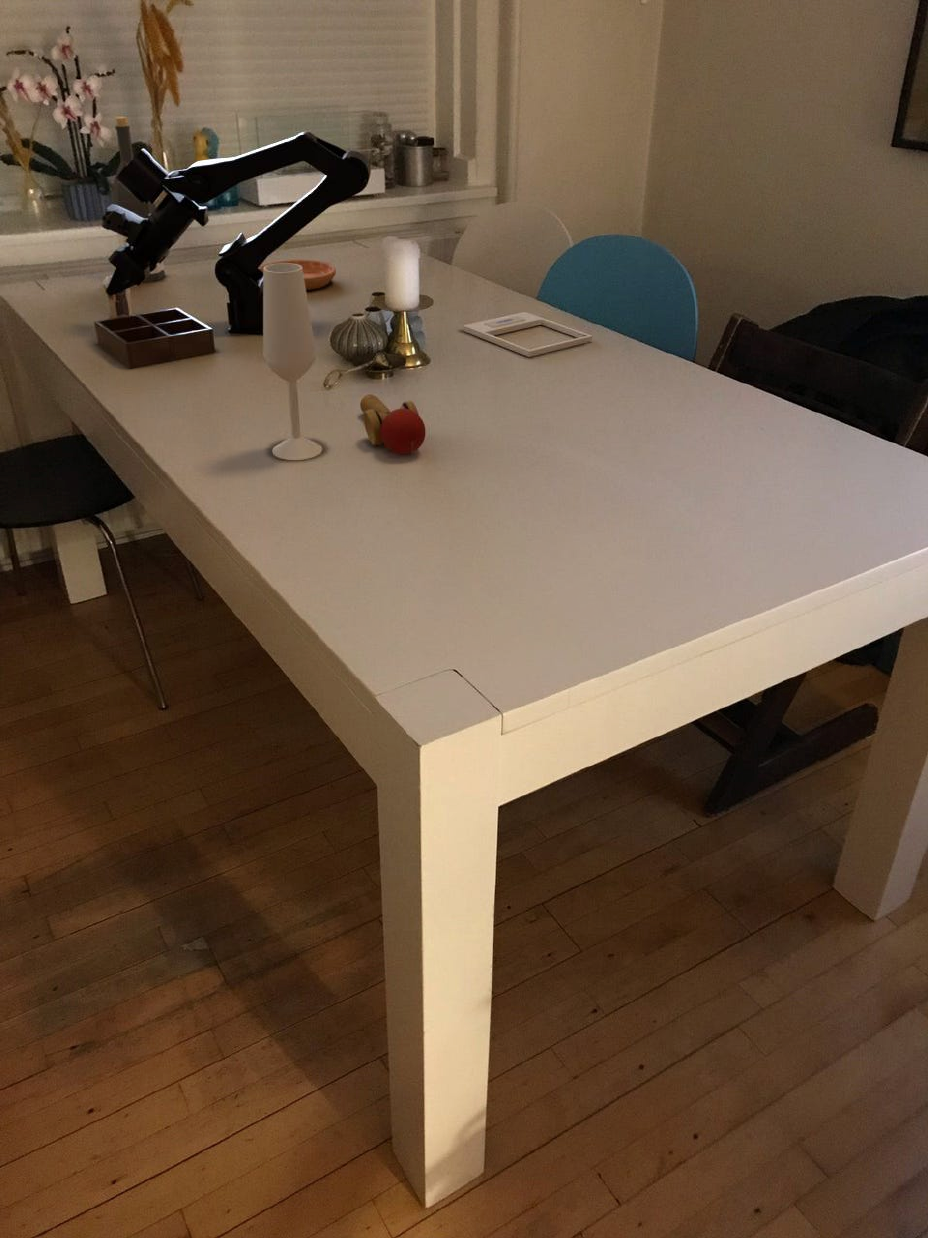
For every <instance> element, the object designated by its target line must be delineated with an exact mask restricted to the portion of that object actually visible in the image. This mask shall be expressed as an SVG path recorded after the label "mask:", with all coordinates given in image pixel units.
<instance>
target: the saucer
mask: <svg viewBox="0 0 928 1238" xmlns="http://www.w3.org/2000/svg"><path fill="white" fill-rule="evenodd" d="M277 263H292V264H298V265H300V266H302V269H303V275H304V281H305V287H306V291H310V290H311V291H312V290H315V289H320V288H323V287H325V286H327V285H328V284H329V283H330V282H331V281H332V280H333V279H334V277H335V276H336V273H337V268H336V267H335V265H333V264H332V263H329V262H326V261H321V260H311V259H289V260H279V261H274V262H269V263H267V264H263V265H260V267H259V269H260V270H261V271H262V272H263V268H264V267H265V266H267V265H271V264H277Z"/></svg>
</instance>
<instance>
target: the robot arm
mask: <svg viewBox="0 0 928 1238" xmlns="http://www.w3.org/2000/svg"><path fill="white" fill-rule="evenodd" d="M133 157H134V158H133V159H132V160H131V161H130V163H128V164H127V165H125V166H124V168H123V169H122V170H121V171H120V173H119V174H118V176H117V177H116V180H117V181H118V182H119V183H120V184H121V185H123V186H124V187H125V188H126V189H127V190H128V191H129V192H130V193H131V194H132V195H133V196H135V197H136V198H137V199H138V200H139V201H140V202H141V203H142V204H144V203H146V204H148V203H149V201H150V203H151V204H152V205H153V204H154V203H155V204H156V202H157V201H158V200H159V199H160V197H161V196H162V195H163V193H164V192H165V193H166V195H164V197H163V198H162V200H161V201H160V202H159V204H157V206H155V210H154V211H153V212H152V213H151V215H150V214H149V215H148V216H147V217H146V218H142V217H140V216H138V215H137V214H135V213H133V212H130V211H128V210H126V209H124V208H122V207H120V206H117V205H114V204H113V203H111V204H110V205H109V206H107V207H106V208H105V211H104V215H102V217H101V219H102V223H101V227H102V228H103V229H105V230H106V231H112V232H113V233H116V234H117V235H118V234H120V235H122V236H125V237H128V238H127V239H126V240H125V241H126V242H127V244H126V246H119V247H118V248H117V249H115V250H114V251H113V252H112V254H110V256H109V257H108V258H107V259H108V261H109V263H110V264H111V265H112V266H113V267H114V268H115V270H114V272H113V274H112V275H113V276H112V278H111V281H110V283H109V285H108V287H107V289H106V293H107V294H108V295H109V296H112V295H114V294H117V293H119V292H121V291H123V290H125V289H128V288H130V289H131V288H132V287H134V286H137V287H140V286H141V285H142V284H143V283H144V282H143V281H144V280H145V279H146V278H147V277H148V276H149V274H150V272H152V271H153V270H154V269H155V268H156V267H157V264H158V263H160V264H161V263H162V261H163V262H164V260H166V258H167V257H168V256H169V255H170V249H172V247H173V246H174V245H175V244H176V243H177V242H178V240H179V239H180V238H181V237H182V235H183V234H184V233H185V232H186V230H187V229H188V228H189V227H190V226H191V225H192V223H193V222H194V221H195V222H197V224H199V225H200V226H201V227H205V226H206V225H207V224H208V223H209V221H210V218H209V215H208V209H209V208H208V206H200V205H198V204H207V203H209V202H210V201H212V200H214V199H216V198H218V197H219V196H221V195H223V194H224V193H227V191H229V190H230V189H232V188H234V187H235V186H237V185H238V184H240V183H243V182H245V181H248V180H251V179H254V178H257V177H260V176H264V175H266V174H269V173H272V172H275V171H277V170H282V169H284V168H286V167H290V166H293V165H295V164H299V163H301V162H305V164H308V165H310V166H312V168H314V169H316V170H317V171H318V172H320V173H321V174H323V175H324V176H323V177H322V179H321V180H320V182H318V184H317V185H316V186H315V187H314V188H312V189H311V190H310V191H309V192H307V193H306V194H304V195H303V196H302V198H300V199H299V200H297V201H296V202H294V203H293V205H292V206H290V207H289V208H287V209H286V210H285V211H284V212H283V213H281V214H280V215H279V216H278V217H277V218H275V219H274V220H273V221H272V222H271V223H269V224H268V225H267V226H265V227H264V228H263V229H262V230H261V231H259V232H258V233H257V234H255V235H253V236H251V237H248V238H246V236H245V235H244V233H243V232H240V233H239V234H238V235H237V237H235V239H234V240H233V241H232V242H231V243H228V244H225V245H224V246H223V248H222V249H221V250H220V252H219V253H218V256H219V259H218V260H217V261H216V262H215V265H214V275H215V278H216V280H217V282H218V283H219V284H220V285H221V286H222V287H224V288H225V289H226V292H227V294H228V301H227V302H226V309H227V310H226V311H227V318H228V325H229V326H230V327H229V328H228V332H230V333H241V334H242V333H243V334H244V333H245V334H259V335H263V272H262V271H261V270H260V269H259V267H261V266H262V264H263V263H264V262H265V260H267V258H268V257H269V256H270V255H271V254H273V253H274V252H276V250H278V249H279V248H280V247H281V246H283V245H284V244H285V243H286V242H288V241H289V240H290V239H292V238H293V237H294V236H295V235H296V234H298V233H299V232H300V231H301V230H303V229H304V228H305V227H306V226H308V225H309V224H311V222H313V221H314V220H315V219H316V218H318V217H319V216H320V215H321V214H323V213H324V212H325V211H326V210H328V209H329V208H331V207H333V206H335V205H337V204H339V203H342V202H344V201H347V200H348V199H350V198H352V197H354V196H356V195H358V194H360V193H361V192H363V191H364V190H365V189H366V188H367V186H368V184H369V182H370V178H371V173H372V167H371V162H370V161H369V159H368V158H367V156H366V155H365V154H363V153H362V152H360V151H357V150H348V151H347V150H345V149H343V148H341V147H340V146H337V145H335V144H333V143H331V142H329V141H327V140H324V139H322V138H320V137H318V136H317V135H315V134H314V133H312V132H310V131H301V132H299V133H298V134H297V135H295V136H292V137H288V138H286V139H282V140H280V141H278V142H275V143H271V144H268V145H266V146H262V147H259V148H258V149H257V148H256V149H255V150H252V151H249V152H246V153H243V154H240V155H237V156H233V157H221V158H211V159H204V160H198V161H195V162H194V163H193V164H192V165H190V166H189V167H188V168H187V169H179V170H176V169H175V170H174V171H171V172H170V173H169V172H168V171H167V170H166V169H165V168H164V167H162V166H161V164H159V163H158V162H157V161H156V159H154V158H153V156H152V155H151V153H149V152H148V151H147V150H146V149H145V148H142V149H141V150H139V151H138V152H137V154H136V155H135V156H133ZM106 293H105V294H106Z"/></svg>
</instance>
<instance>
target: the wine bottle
mask: <svg viewBox="0 0 928 1238" xmlns="http://www.w3.org/2000/svg"><path fill="white" fill-rule="evenodd" d="M114 118H115V126H114V127H115V131H116V132H115V133H116V137H117V144H118V150H119V157H120V162H119V165H118V168H117V171H116V174H115V176H114V181H113V184H112V197H111V198H112V199H111V203H112V204H114V205H117V206H120V207H122V208H124V209H126V210H128V211H130V212H133V213H135V214H137V215H138V216H140V217H142V218H146V217H147V216H148V215H149V214H150V215H151V213H152V212H153V211H154V210H155V208H156V202H155V203H154V204H153V205H152V204H151V203H150V201H149V203H148V204H146V203H144V204H142V203H141V202H140V201H139V200H138V199H137V198H136V197H135V196H133V195H132V194H131V193H130V192H129V191H128V190H127V189H126V188H125V187H124V186H123V185H121V184H120V183H119V182H118V181H117V180H116V177H117V176H118V174H119V173H120V171H121V170H122V169H123V168H124V166H125V165H127V164H128V163H130V161H131V160H132V159H133V158H134V157H135V156H134V152H133V145H132V137H131V131H130V129H131V128H130V125H129V124H128V123H129V122H128V118H127V117H126V116H117V117H114ZM127 238H128V237H125V236H122V235H120V234H118V233H117V239H118V246H119V247H120V246H126V244H127V242H126V241H125V240H126V239H127ZM165 273H166V272H165V265H164V260H163V261H162V263H161V264H160V263H158V264H157V267H156V268H155V269H154V270H153V271H152V272H150V274H149V276H148V277H147V278H146V279H145V280H144V281H143V283H144V284H145V283H150V282H157V281H160V280H162V279H163V278H165V275H166V274H165Z"/></svg>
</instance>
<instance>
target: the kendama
mask: <svg viewBox="0 0 928 1238" xmlns="http://www.w3.org/2000/svg"><path fill="white" fill-rule="evenodd" d="M359 407H360V410H361V412H362V413H363V415H362V416H363V424H364V428H365V431H366V434H367V437H368V439H369V441H370V443H371V444H372V445H373V446H379V445H382V444H384V446H385V447H386V448H387V449H388V450H390V451H391V452H392V453H395V454H398V455H411V454H412V453H414V452H415V451H418V449H419V448H421V447H422V445H423V444H424V441H425V438H426V433H427V432H426V431H427V430H426V426H425V422H424V420H423V419H422V417H421V416H420V414H419V412H418V407H416V404H415V403H414V402H413V401H412V400H407V401H404V402H403V403H402V405H401V406H400V407H399V408H397V409H394V410H392V411H391V410H390V409H389V408H388V407H387V406H386V405H385V404H384V403H383V402H382V401H381V400H380V399H379V398H378V396H376V395H374V394H372V393H371V394H370V393H369V394H366V395H364V396H363V397H362V399H361V400H360V404H359Z"/></svg>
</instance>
